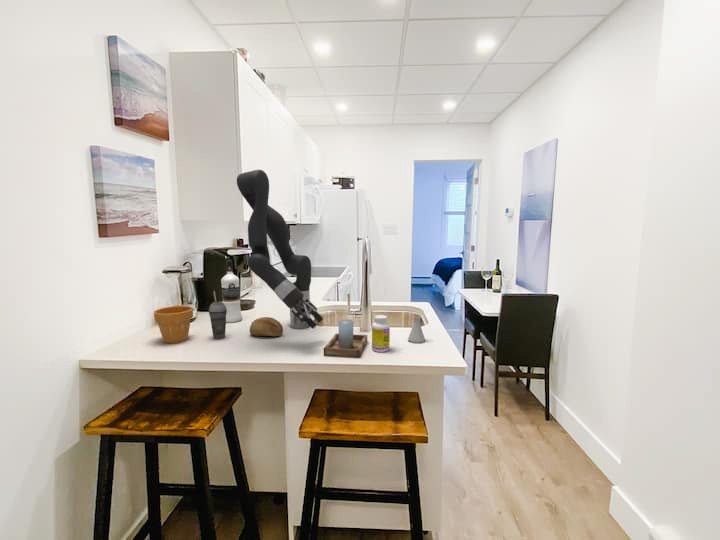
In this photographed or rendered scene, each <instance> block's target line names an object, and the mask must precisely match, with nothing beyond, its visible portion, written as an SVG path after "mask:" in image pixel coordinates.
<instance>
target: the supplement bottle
mask: <svg viewBox="0 0 720 540" xmlns="http://www.w3.org/2000/svg"><path fill="white" fill-rule="evenodd" d="M387 321H388V316H387V315H383V314H378V315H375V316H374V322H373V323H371V350H372V351H374V352H377V353H386V352H388V351H389V350H390V338H391V337H390V333H391V332H390V329H391V327H390V323H388V322H387Z"/></svg>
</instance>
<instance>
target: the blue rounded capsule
mask: <svg viewBox="0 0 720 540" xmlns="http://www.w3.org/2000/svg"><path fill="white" fill-rule="evenodd" d="M354 323H355V322H354V320H351V319H340V320H338V334H339V338H338V348H341V349H352V348H353V334H354Z"/></svg>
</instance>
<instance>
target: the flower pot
mask: <svg viewBox="0 0 720 540" xmlns="http://www.w3.org/2000/svg"><path fill="white" fill-rule="evenodd" d="M153 316H154V321H155V323H157V325H158V328H159V331H160V334H161V337H162V341H163V342H164V343H165V344H179V343H183V342H185V341H187V340H188V338H189V337H188V336H189V333H190V326H191V321H192V320H191V319H193V317H194V308H193V306H189V305H175V306H173V305H172V306H165V307H162V308H158V309H155V310H154V312H153ZM178 342H179V343H178Z"/></svg>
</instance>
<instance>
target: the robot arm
mask: <svg viewBox="0 0 720 540" xmlns="http://www.w3.org/2000/svg"><path fill="white" fill-rule="evenodd" d="M236 186H237V188H238V191H240V194H241V195H242V197H243V198H244V200H245V201H246V202H247V204H248V205H249V207H250V208H251V209H252V212H251V215H250V218H249V220H248V223H247V238H248V246H249V248H250V249H251V255H250V256H249V257H248V259H247V266H248V268H249V270H251V271H252V273H254V275H256V276H257V277H259V279H261V280H262V281H263V282H264V283H266V285H267V286H268V288H270V289H271V290H272V292H274V293H275V295H276V296H277V298H279V300H281V301H282V302H283V304H284V305H285V306H286V307H287V308H288V309H289V316H290V317H289V318H290V319H289V320H290V321H289V322H290V328H291V329H297V330H301V329H307V328H311V329H315V328H316V326H317V323H316V322H315V320H316V321H317V322H318V323H321V322H322V321H323V320H324V318H323V316H322V315H320V314H319V312H318V307H317V306H315V305H314V303H312V302H311V301H310V300H311V296H310V295H311V294H310V292H311V291H310V289H311V288H310V287H311V282H312V262H311V259H310V257H309V256H308V255H302V254H295V253H294V251H293V249H292V247H291V245H290V237H291V236H290V233H291V232H290V231H291V230H290V228H289V226H288V224H287V223H286V220H285V219H284V217H283V215H282V214H281V213H279V212H278V211H277V210H276V209H275V208H273V207H272V206H270V205H269V194H270V180H269V176H268V175H267V173H266V172H265V171H264V170H262V169H255V170H254V169H253V170H251V171H246V172H242V173H240V174H238V176H237V177H236ZM268 238H269V239H270V241H271V243H272V244H273V246H274V248H275V250H276V251H277V254H278V256H279V259H280V260H281V263H282V265H283V267H284V269H285V271H286V273H288V274H290V275H292V276H296V277H295V278H296V279H295V281H294V282H292V281H291V280H289V279H288V278H287V276H285V275H284V274H283V272H281V271H280V270H279V269H276V268H275V267H274V265H272V264H271V257H270V251H269V247H268ZM311 316H312V317H313V318H314V319H315V320H313V318H311Z"/></svg>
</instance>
